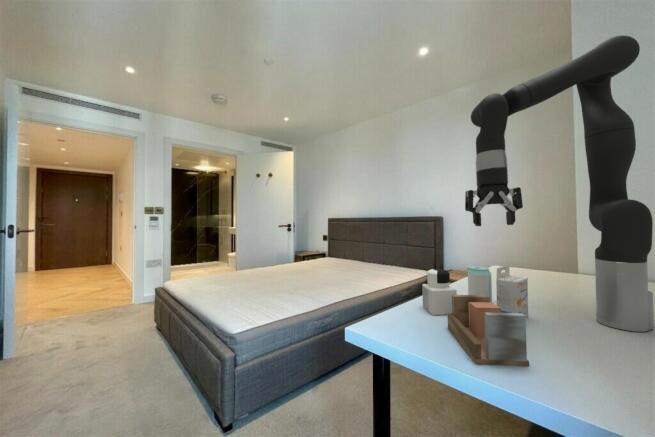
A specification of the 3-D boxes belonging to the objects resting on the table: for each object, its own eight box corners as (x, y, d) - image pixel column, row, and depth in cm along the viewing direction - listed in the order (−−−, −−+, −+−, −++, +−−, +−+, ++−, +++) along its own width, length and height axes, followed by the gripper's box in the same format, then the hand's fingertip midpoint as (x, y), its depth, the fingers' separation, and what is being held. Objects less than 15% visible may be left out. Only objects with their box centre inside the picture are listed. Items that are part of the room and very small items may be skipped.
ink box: (516, 324, 71) (515, 270, 71) (496, 319, 75) (495, 268, 75) (529, 317, 75) (527, 266, 75) (509, 312, 79) (508, 264, 79)
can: (464, 301, 91) (463, 267, 91) (476, 298, 94) (475, 265, 94) (484, 307, 85) (483, 270, 85) (496, 303, 88) (495, 268, 88)
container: (445, 306, 87) (444, 267, 87) (457, 314, 79) (456, 272, 79) (422, 307, 86) (421, 268, 86) (432, 315, 79) (431, 272, 79)
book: (492, 329, 66) (491, 302, 66) (501, 337, 61) (500, 307, 61) (469, 329, 66) (468, 301, 66) (476, 336, 62) (475, 307, 62)
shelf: (487, 329, 68) (486, 291, 68) (529, 366, 51) (527, 315, 51) (447, 328, 69) (446, 291, 69) (475, 363, 53) (474, 314, 53)
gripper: (510, 169, 77) (512, 224, 77) (459, 172, 78) (462, 226, 78) (526, 164, 69) (529, 224, 69) (470, 167, 71) (473, 227, 71)
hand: (494, 225), depth 74 cm, fingers open, 8 cm apart
